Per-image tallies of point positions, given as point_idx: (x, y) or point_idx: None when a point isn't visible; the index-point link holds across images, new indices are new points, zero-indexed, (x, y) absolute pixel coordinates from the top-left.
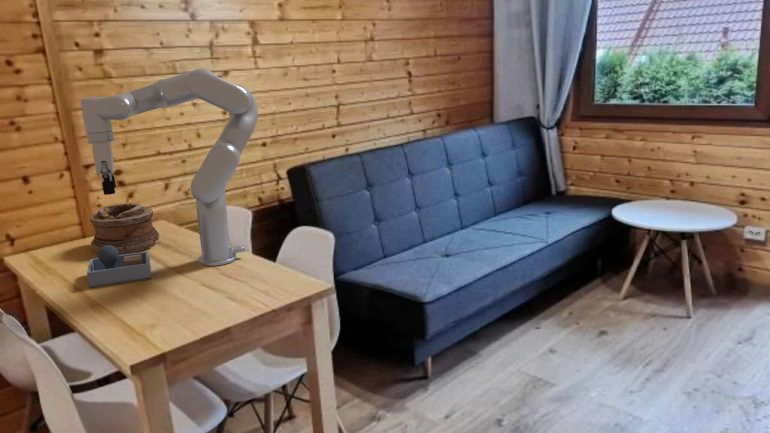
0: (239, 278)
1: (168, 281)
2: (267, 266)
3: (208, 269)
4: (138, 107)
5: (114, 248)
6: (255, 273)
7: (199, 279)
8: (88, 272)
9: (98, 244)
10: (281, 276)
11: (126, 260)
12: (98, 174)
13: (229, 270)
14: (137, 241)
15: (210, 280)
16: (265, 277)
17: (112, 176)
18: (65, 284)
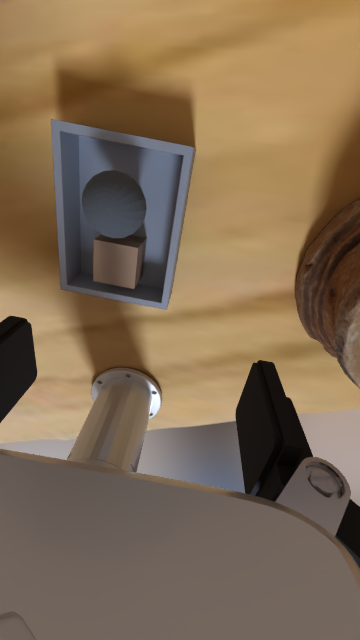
0: None
1: (47, 300)
2: (56, 430)
3: (83, 369)
4: None
5: (98, 230)
6: (31, 410)
7: (36, 345)
8: (51, 125)
9: None
10: (5, 427)
11: (98, 247)
12: (32, 454)
13: (62, 390)
14: (310, 306)
15: None
16: (8, 413)
17: (249, 494)
18: (144, 48)
